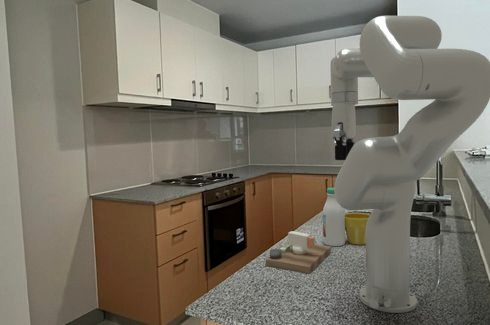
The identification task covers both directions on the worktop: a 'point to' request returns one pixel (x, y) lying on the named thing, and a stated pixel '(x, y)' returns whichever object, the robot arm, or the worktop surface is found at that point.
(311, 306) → the worktop surface
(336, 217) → the milk bottle
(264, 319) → the worktop surface
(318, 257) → the brown lever switch panel
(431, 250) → the worktop surface
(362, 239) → the plant pot
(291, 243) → the wing knob
